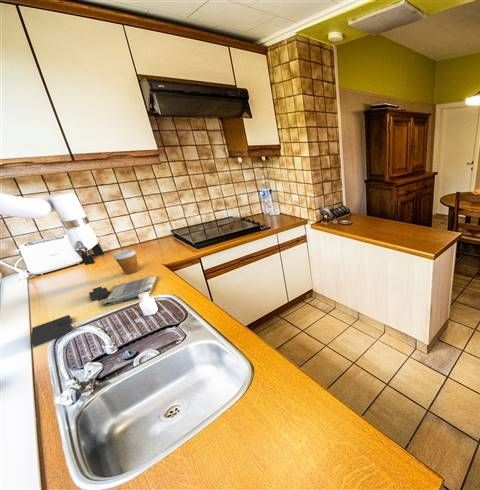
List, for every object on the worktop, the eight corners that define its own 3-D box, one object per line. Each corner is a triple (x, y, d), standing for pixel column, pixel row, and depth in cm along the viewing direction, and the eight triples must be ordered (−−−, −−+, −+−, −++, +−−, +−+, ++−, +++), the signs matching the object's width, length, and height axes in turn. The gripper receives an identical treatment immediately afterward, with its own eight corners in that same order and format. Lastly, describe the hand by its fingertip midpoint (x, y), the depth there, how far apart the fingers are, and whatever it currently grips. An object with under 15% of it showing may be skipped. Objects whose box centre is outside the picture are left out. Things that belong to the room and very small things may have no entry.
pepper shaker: (143, 316, 110) (134, 297, 106) (148, 311, 114) (139, 292, 110) (154, 314, 111) (146, 295, 107) (159, 309, 114) (150, 290, 111)
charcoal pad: (74, 333, 102) (70, 327, 101) (35, 348, 96) (30, 342, 94) (72, 320, 110) (69, 314, 109) (36, 333, 103) (32, 327, 102)
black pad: (93, 302, 121) (90, 297, 120) (91, 295, 127) (88, 290, 126) (110, 296, 125) (107, 291, 124) (107, 290, 131) (105, 285, 130)
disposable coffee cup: (140, 266, 155) (132, 247, 150) (145, 270, 149) (136, 251, 144) (119, 272, 148) (110, 253, 143) (123, 277, 142) (114, 257, 138)
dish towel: (115, 288, 132) (113, 282, 131) (158, 278, 140) (156, 273, 138) (102, 308, 117) (99, 302, 116) (151, 296, 124) (148, 290, 123)
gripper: (74, 218, 115) (92, 254, 122) (52, 230, 101) (74, 270, 108) (96, 216, 118) (113, 250, 125) (78, 227, 104) (98, 265, 111)
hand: (95, 259), depth 116 cm, fingers open, 9 cm apart
